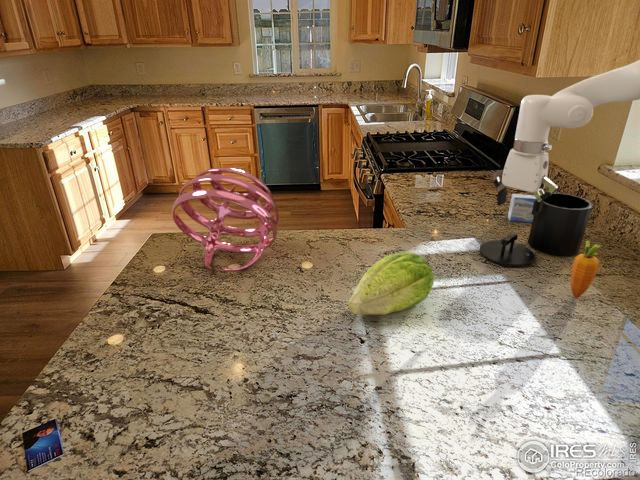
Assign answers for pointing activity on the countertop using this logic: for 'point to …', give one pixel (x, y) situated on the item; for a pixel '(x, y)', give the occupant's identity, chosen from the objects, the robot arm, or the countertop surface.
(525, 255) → the bin lid
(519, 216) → the medicine box
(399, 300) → the lettuce
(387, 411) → the countertop surface
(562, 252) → the trash can
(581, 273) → the carrot
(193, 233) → the pink openwork sphere
